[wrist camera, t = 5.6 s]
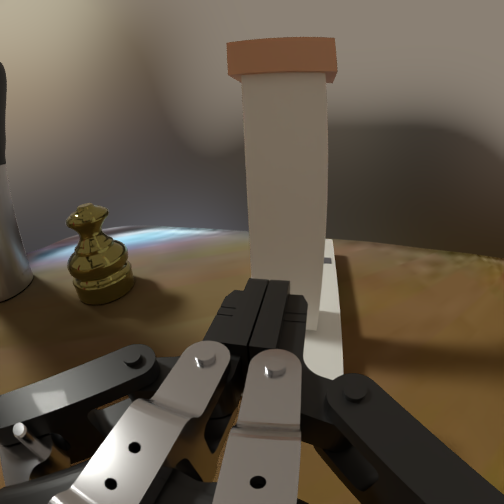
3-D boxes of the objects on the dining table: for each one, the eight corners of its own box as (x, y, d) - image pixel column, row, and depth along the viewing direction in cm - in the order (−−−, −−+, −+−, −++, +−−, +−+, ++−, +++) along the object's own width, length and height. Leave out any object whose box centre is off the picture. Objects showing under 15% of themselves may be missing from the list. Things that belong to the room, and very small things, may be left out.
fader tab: (244, 328, 19) (226, 42, 11) (255, 299, 22) (243, 57, 14) (325, 334, 18) (334, 37, 10) (325, 304, 21) (330, 55, 13)
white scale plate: (214, 391, 16) (209, 371, 15) (268, 251, 36) (268, 235, 35) (337, 404, 15) (343, 385, 14) (331, 254, 34) (332, 238, 33)
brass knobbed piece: (95, 273, 32) (76, 200, 28) (143, 272, 32) (127, 192, 28) (67, 305, 25) (40, 220, 21) (121, 307, 25) (95, 212, 21)
